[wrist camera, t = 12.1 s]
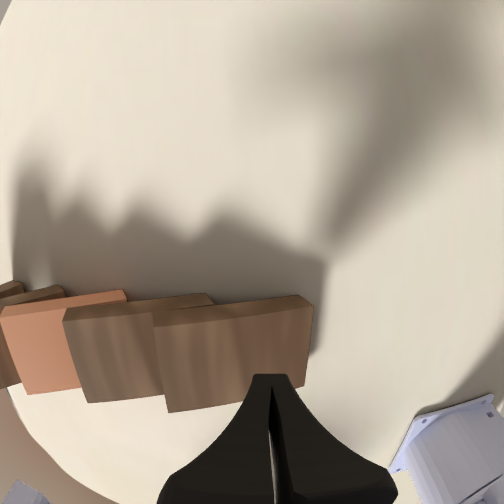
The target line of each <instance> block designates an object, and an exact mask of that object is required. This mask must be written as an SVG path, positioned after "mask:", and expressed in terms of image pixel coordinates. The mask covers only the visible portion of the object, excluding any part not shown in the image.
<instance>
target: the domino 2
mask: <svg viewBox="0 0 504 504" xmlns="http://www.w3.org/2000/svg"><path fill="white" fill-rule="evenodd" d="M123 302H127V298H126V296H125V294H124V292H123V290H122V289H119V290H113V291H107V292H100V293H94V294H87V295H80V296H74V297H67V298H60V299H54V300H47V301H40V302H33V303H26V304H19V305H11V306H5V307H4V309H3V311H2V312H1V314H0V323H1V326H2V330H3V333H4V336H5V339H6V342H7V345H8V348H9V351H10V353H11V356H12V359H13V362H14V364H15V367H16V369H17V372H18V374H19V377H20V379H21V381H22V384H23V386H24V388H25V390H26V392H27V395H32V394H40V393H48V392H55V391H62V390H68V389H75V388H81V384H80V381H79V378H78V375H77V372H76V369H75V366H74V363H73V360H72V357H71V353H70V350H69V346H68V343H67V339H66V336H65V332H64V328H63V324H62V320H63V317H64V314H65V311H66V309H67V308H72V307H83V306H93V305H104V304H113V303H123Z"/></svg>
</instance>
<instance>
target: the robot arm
mask: <svg viewBox="0 0 504 504" xmlns="http://www.w3.org/2000/svg"><path fill="white" fill-rule="evenodd" d="M493 399H494V395H493V394H488V395H486V396H483V397H480V398H477V399H474V400H472V401H469V402H466V403H462V404H459V405H456V406H453V407H449V408H446V409H442V410H439V411H435V412H431V413H427V414H423V415H419V416H417V417H416V418H414V420H413V422H412V424H411V426H410V428H409V430H408V432H407V434H406V436H405V438H404V440H403V442H402V444H401V446H400V448H399V450H398V452H397V454H396V456H395V458H394V460H393V462H392V463H391V465H390V467H389V469H388V470H387V469H386V468H383V467H381V466H379V465H377V464H375V463H373V462H371V461H369V460H367V459H365V458H363V457H361V456H360V455H358V454H356V453H355V452H353V451H352V450H351V449H349V448H348V447H346V446H345V445H344V444H342V443H341V442H340V441H338V440H337V439H336V438H335V437H334V436H333V435H332V434H330V433H329V432H328V431H327V430H326V429H325V428H324V427H323V426H322V425H321V424H320V423H319V422H318V420H317V419H316V418H315V417H314V416H313V415H312V413H311V412H310V411H309V410H308V408H307V407H306V405H305V404H304V403H303V401H302V400H301V398H300V397H299V395H298V394H297V392H296V390H295V389H294V387H293V385H292V383H291V381H290V379H289V377H288V375H287V374H254V375H253V377H252V382H251V385H250V388H249V390H248V393H247V395H246V397H245V399H244V401H243V403H242V405H241V406H240V408H239V410H238V411H237V413H236V414H235V416H234V418H233V419H232V420H231V422H230V423H229V425H228V426H227V427H226V428H225V430H224V431H223V432H222V433H221V435H220V436H219V437H218V438H217V439H216V440H215V441H214V442H213V443H212V444H211V445H210V446H209V447H208V448H207V449H206V450H205V451H204V452H202V453H201V454H200V455H199V456H198V457H196V458H195V459H194V460H193V461H191V462H190V463H189V464H187V465H186V466H184V467H183V468H181V469H180V470H178V471H177V472H175V473H174V474H172V475H170V476H169V478H168V480H167V481H166V483H165V484H164V486H163V488H162V490H161V492H160V494H159V497H158V500H157V504H274V490H273V481H272V471H271V459H270V445H269V433H270V440H271V448H272V455H273V462H274V469H275V484H276V504H393V502H394V501H395V499H396V498H397V496H398V490H397V487H396V485H395V482H394V480H393V479H392V477H391V475H390V474H393V473H397V472H401V471H404V470H408V473H409V475H410V477H411V479H412V482H413V484H414V487H415V489H416V491H417V494H418V496H419V498H420V501H421V503H422V504H504V418H503V417H502V416H501V414H500V413H499V412H498V411H497V409H496V408H495V407H494V406H493V405H492V404H491V403H492V401H493ZM2 504H51V502H50V501H49V500H48V499H47V498H46V496H44V495H43V494H42V493H41V492H39V491H38V490H36V489H34V488H32V487H31V486H29V485H27V484H25V483H23V482H22V481H20V480H16V482H15V483H14V485H13V486H12V488H11V489H10V491H9V492H8V494H7V496H6V497H5V499H4V500H3V502H2Z"/></svg>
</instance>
